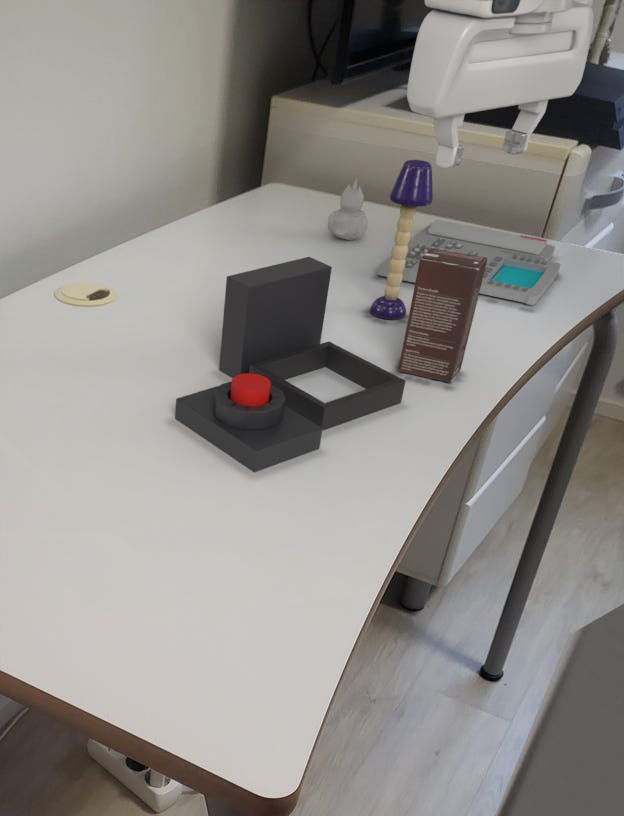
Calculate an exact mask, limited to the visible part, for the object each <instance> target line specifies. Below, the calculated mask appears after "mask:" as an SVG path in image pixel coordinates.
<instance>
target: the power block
mask: <svg viewBox="0 0 624 816" xmlns="http://www.w3.org/2000/svg"><path fill="white" fill-rule="evenodd" d="M231 383H232V380H231V381H228V382H224V383H221V384H220V385H216V386H212V387H209V388H206V389H204V390H200V391H197V392H194V393H189V394H187V395H184V396H181V397H180V396H179V397H176V399H175V413H174V414H175V415H174V419H175V420H176V421H177V422H179V423H180V424H182V425H183V426H184V427H186V428H188V429H189V430H191V431H192V432H193V433H195V434H197V435H198V436H199V437H201V438H203V439H204V440H206V442H208V443H210V444H211V445H212V446H214V447H215V448H217V449H218V450H220V451H221V452H223V453H225V454H226V455H227V456H229V457H230V458H232V459H233V460H235V461H236V462H238V463H240V465H242V466H244V467H245V468H247V469H248V470H250V471H251V472H252V473H257V472H259V471H263V470H266V469H268V468H271V467H274V466H277V465H279V464H281V463H284V462H287V461H290V460H293V459H296V458H298V457H301V456H305V455H306V454H310V453H313V452H314V451H318V450H320V447H321V440H322V434H323V431H322V428H321V427H319V426H318V425H316V424H314V423H313V422H311V421H309V420H308V419H306V418H304V417H303V416H301V415H299V414H298V413H296V412H294V411H293V410H291V409H289V408H288V407H286V406H285V402H286V399H285V396H284V394H283V392H282V390H280V389H278V388H276V387H275V386H273V385H271V387H270V395H269V402H268V403H267V404H264V405H261V406H246V405H242V404H237V403H235V402H233V401H232V400H231V399H230V394H231Z"/></svg>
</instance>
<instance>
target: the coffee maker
mask: <svg viewBox="0 0 624 816" xmlns="http://www.w3.org/2000/svg"><path fill="white" fill-rule="evenodd" d="M331 276H332V266H331V265H329V264H326V263H325V262H322V261H319V260H318V259H315V258H313V257H311V256H307V257H302V258H297V259H294V260H289V261H286V262H285V261H284V262H282V263H277V264H272V265H269V266H265V267H260V268H256V269H252V270H248V271H243V272H239V273H235V274H231V275H226V281H225V282H226V283H225V293H224V306H223V318H222V328H221V341H220V351H219V352H220V353H219V364H218V365H219V366H218V371H219V372H221V373H223V374H224V375H226V376H227V377H229V378H231V379H233V378H234V377H235V376H237V375H240V374H246V373H251V374H258V375H262V376H264V377H266V378H268V379H269V380H270V382H271V385H273V386H275V387H276V388H278V389H280V390H282V392H283V394H284V396H285V399H286V402H285V406H286V407H288V408H289V409H291V410H293V411H294V412H296V413H298V414H299V415H301V416H303V417H304V418H306V419H308V420H309V421H311V422H313V423H314V424H316V425H318V426H319V427H321V428H322V432H323V431H326V430H329V429H331V428H334V427H337V426H340V425H343V424H346V423H349V422H352V421H354V420H356V419H360V418H362V417H366V416H369V415H371V414H374V413H376V412H379V411H383V410H385V409H388V408H391V407H394V406H396V405H400V404H402V399H403V395H404V390H405V386H406V380H405V379H403V378H402V377H400V376H397V375H396V374H395V373H392V372H390V371H387V370H386V369H384V368H382V367H380V366H378V365H376V364H374V363H372V362H370V361H369V360H366V359H364V358H362V357H361V356H358V355H356V354H355V353H353V352H351V351H348V350H347V349H345V348H343V347H341V346H339V345H337V344H335V343H333V342H332V341H326V342H321V341H322V336H323V335H322V334H323V329H324V328H323V327H324V322H325V321H324V320H325V314H326V308H327V301H328V295H329V290H330V288H329V287H330V283H331ZM324 368H326V369H328V370H330V371H332V372H334V373H335V374H337V375H338V376H341V377H343V378H345V379H346V380H349V381H350V382H352V383H354V384H356V385H358V386H359V387H361V388H364V389H363V390H359V391H357V392H354V393H351V394H348V395H345V396H341V397H339V398H335V399H333V400H330V401H327V402H324V401H323V400H321V399H318V398H317V397H315V396H314V395H311V394H310V393H308V392H306V391H304V390H303V389H302V388H300V387H298V386H296V385H294V384H292V383H291V382H289V381H287V380H289V379H292V378H294V377H299V376H302V375H305V374H308V373H312V372H314V371H317V370H321V369H324Z"/></svg>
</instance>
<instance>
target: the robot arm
mask: <svg viewBox="0 0 624 816" xmlns="http://www.w3.org/2000/svg"><path fill="white" fill-rule="evenodd" d="M593 3H594V0H424V6H426V7H428V8H431V9H432V10H431V11H429V12H428V13H427V14H426V16H425V17H424V19H423V20H422V22H421V23H420V26H419V29H418V33H417V35H416V40H415V45H414V48H413V54H412V59H411V63H410V68H409V69H410V70H409V73H408V74H409V75H408V81H407V88H406V99H407V102H408V105H409V108H410V110H411V111H412V112H414V113H417V114H420V115H422V116H427V117H430V118H434V119H433V127H434V132H435V137H436V141H437V144H438V145H437V149H436V155H435V164H436V166H438V167H441V168H444V169H451V168H453V167H457V166H460V164H462V156H463V154H464V150H465V145H463V144H460V142H459V133H458V132H459V131H458V128H462V127H463V124H464V120H465V116H466V114H471V113H472V114H473V113H478V112H483V111H489V110H495V109H501V108H502V109H503V108H507V107H513V106H517V108H518V110H520V112H519V113H518V116H517V117H516V120H515V121H514V124H513V125H512V128H511V129H509V130H506V131H505V135H504V139H503V140H504V141H503V143H502V151H503V152H504V153H506V154H510V155H518V154H519V155H520V154H523V153H526V152H527V150H528V146H529V143H530V139H531V135H532V133H533V132H534V131H535V130H536V128H537V127H538V124H539V123H540V121H541V120H542V118H543V117H544V115H545V113H546V110H547V107H548V103H549V100H555V99H561V98H568V97H571V96H573V94H574V93H575V92H576V91H577V89H578V87H579V85H580V84H581V82H582V79H583V76H584V72H585V68H586V63H587V60H588V54H589V50H590V45H591V40H592V34H593V27H594V20H595V19H594V18H595V17H594V16H595V15H594V10H593Z"/></svg>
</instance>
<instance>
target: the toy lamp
mask: <svg viewBox="0 0 624 816" xmlns="http://www.w3.org/2000/svg"><path fill="white" fill-rule="evenodd" d="M432 167H433V166H432V164H431V163H430V162H428V161H427V160H421V159H420V160H419V159H408V160H406V161H405V162H403V165H402V166H401V169H400V170H399V173H398V176H397V178H396V180H395V183H394V185H393V187H392V189H391V192H390V195H389V200H390V201H391V202H392V203H394V204H397V205H400V207H399V214H400V216H399V218H397V222H396V227H397V230H396V232H395V234H394V244H393V246H392V249H391V257H393V258H392V259H391V261H390V265H389V269H390V272H389V274H388V276H387V277H386V286H385V288H384V295H382V296H379V297H378V298H376V299H375V300H374V301H373V303H372V304H371V306H370V309H369V313H370V314H371V315H372V316H374V317H377V318H379V319H384V320H398V319H402V318H405V316H406V315H407V308H406V305H405V302H404V301H403V300H402V299H401V298H400V297H399V296H400V293H401V287H400V286H401V284H402V282H403V280H402V278H403V275H402V272H403V270H404V268H405V257H406V255H407V252H408V246H407V244H408V243H409V242H410V241H411V235H412V233H411V231H412V229H413V227H414V216H415V215H416V212H417V208H419V207H420V208H422V207H427V206H430V205H431V204H432V202H433V197H434V196H433V195H434V194H433V193H434V192H433V168H432Z"/></svg>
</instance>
